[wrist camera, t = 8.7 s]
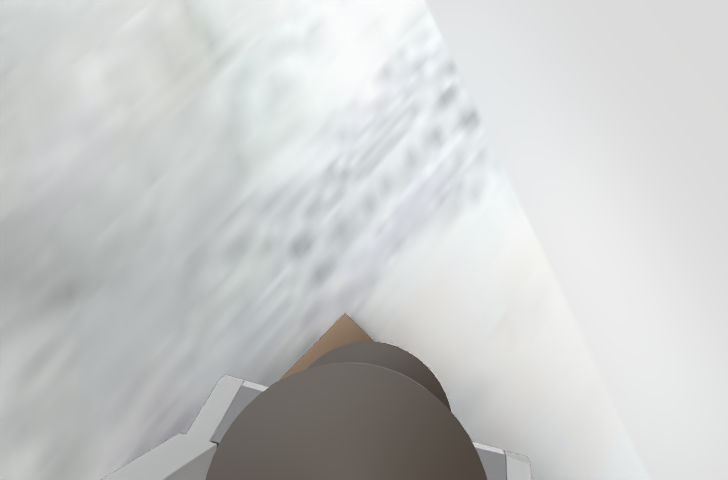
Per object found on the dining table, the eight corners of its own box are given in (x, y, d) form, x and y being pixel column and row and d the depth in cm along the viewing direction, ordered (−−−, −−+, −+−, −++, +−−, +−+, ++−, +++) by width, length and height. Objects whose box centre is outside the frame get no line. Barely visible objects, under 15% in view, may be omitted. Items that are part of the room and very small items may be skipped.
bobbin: (255, 425, 16) (93, 514, 7) (366, 309, 17) (343, 261, 8) (370, 552, 15) (346, 835, 6) (484, 423, 16) (607, 514, 7)
